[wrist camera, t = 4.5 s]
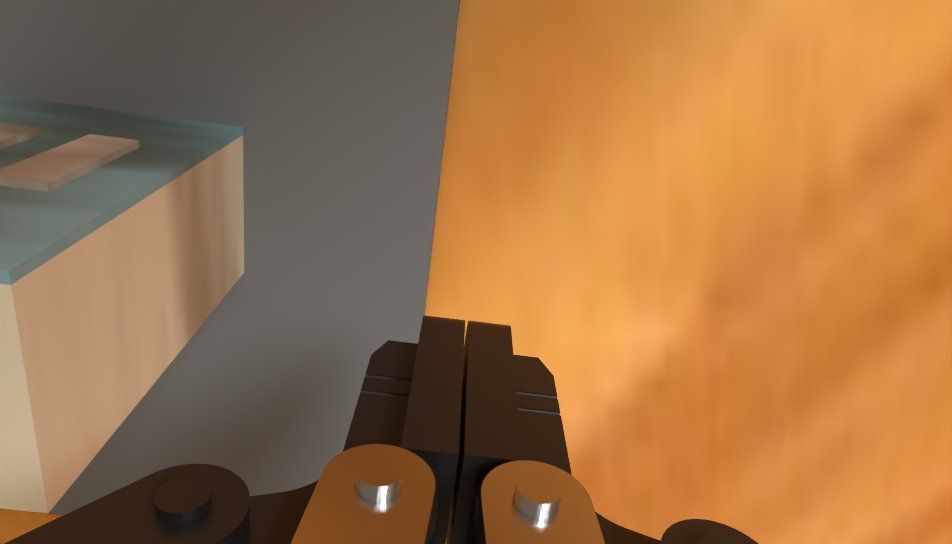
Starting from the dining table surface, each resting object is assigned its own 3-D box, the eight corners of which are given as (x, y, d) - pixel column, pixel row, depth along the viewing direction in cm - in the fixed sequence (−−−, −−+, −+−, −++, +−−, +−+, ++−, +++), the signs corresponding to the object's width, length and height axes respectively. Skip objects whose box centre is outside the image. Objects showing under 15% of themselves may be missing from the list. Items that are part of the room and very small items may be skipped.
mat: (469, -91, 15) (469, -92, 15) (398, 542, 23) (397, 549, 22) (-572, -244, 14) (-593, -249, 14) (-281, 471, 22) (-291, 478, 21)
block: (243, 121, 17) (7, 260, 8) (244, 272, 18) (48, 513, 10) (-5, 88, 16) (-501, 199, 8) (19, 245, 18) (-373, 469, 10)
